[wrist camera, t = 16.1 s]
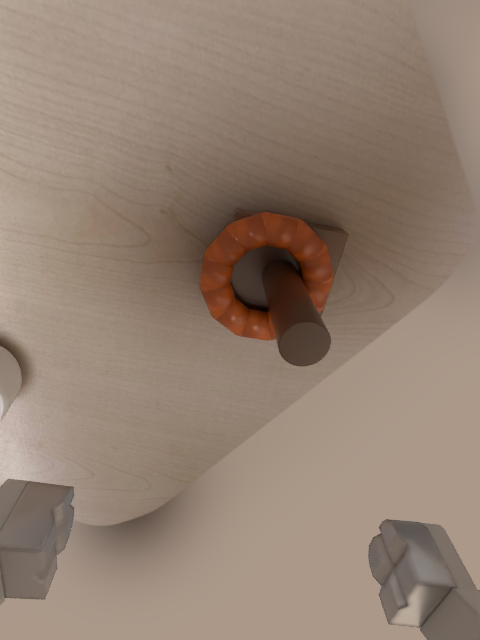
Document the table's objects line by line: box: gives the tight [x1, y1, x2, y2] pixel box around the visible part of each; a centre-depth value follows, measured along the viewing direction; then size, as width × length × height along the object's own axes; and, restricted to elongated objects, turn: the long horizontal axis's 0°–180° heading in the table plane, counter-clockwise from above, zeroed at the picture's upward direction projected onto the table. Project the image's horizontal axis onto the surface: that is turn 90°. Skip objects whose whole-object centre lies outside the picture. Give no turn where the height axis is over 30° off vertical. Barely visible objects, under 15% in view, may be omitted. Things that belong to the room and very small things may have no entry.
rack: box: [230, 208, 348, 366], centre depth 27 cm, size 9×9×12 cm
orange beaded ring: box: [199, 212, 334, 340], centre depth 30 cm, size 10×10×2 cm
